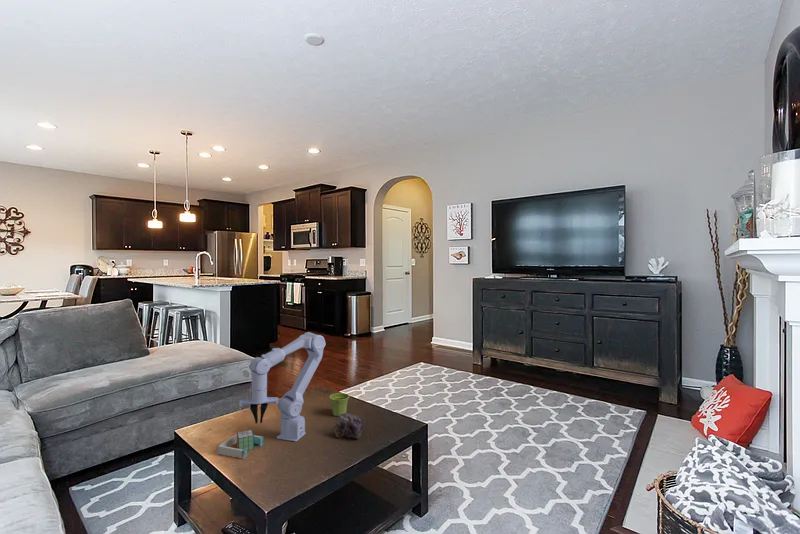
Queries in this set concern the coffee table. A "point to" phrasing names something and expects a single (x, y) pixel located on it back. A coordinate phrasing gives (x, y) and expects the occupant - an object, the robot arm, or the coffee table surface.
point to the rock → (348, 426)
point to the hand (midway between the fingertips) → (258, 422)
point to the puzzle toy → (245, 440)
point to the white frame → (235, 452)
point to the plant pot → (339, 403)
